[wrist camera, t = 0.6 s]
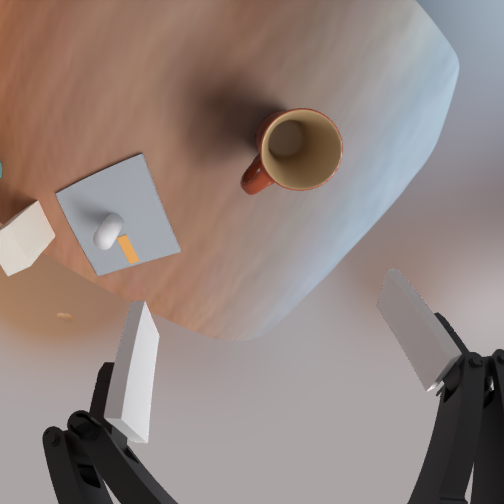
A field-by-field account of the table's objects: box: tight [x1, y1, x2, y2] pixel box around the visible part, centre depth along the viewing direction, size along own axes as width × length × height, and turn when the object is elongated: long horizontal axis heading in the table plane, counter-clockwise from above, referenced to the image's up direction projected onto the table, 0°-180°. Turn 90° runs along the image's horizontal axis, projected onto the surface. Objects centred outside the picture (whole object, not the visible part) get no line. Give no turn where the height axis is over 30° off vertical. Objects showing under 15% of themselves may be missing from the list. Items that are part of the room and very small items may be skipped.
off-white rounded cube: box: [0, 201, 55, 276], centre depth 31 cm, size 10×7×9 cm, turn 103°
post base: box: [56, 153, 181, 276], centre depth 35 cm, size 16×16×6 cm
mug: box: [240, 108, 343, 195], centre depth 30 cm, size 12×9×10 cm
